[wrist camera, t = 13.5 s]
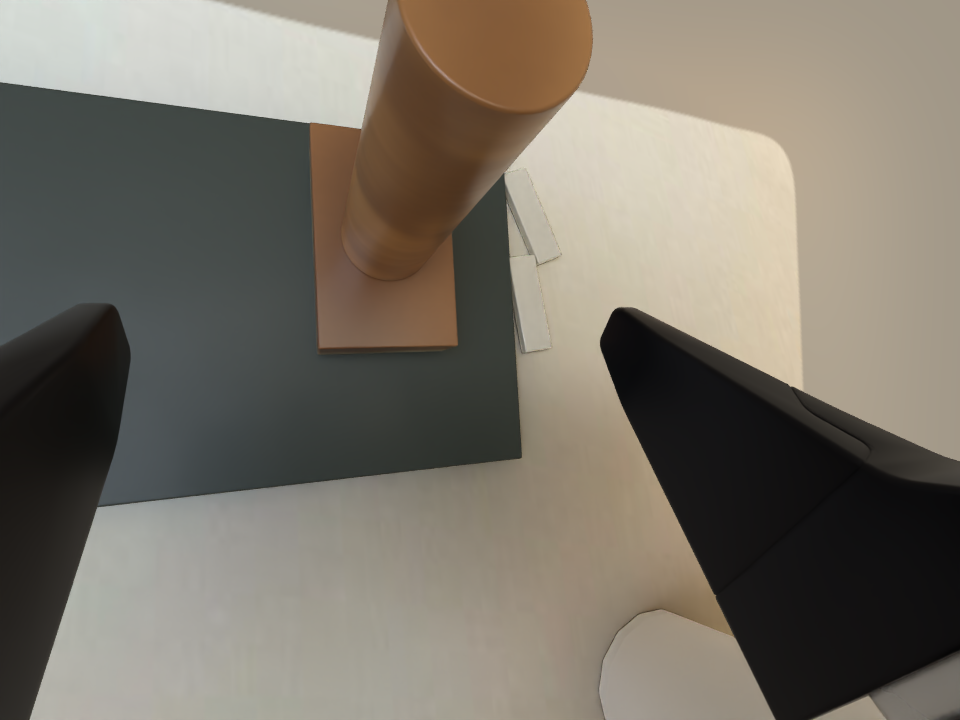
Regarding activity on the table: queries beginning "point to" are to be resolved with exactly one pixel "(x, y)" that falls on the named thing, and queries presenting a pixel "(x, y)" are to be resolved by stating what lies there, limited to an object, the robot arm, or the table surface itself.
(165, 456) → the board
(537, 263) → the chalk streak
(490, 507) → the table surface
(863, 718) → the foam cup
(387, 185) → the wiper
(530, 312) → the chalk streak
